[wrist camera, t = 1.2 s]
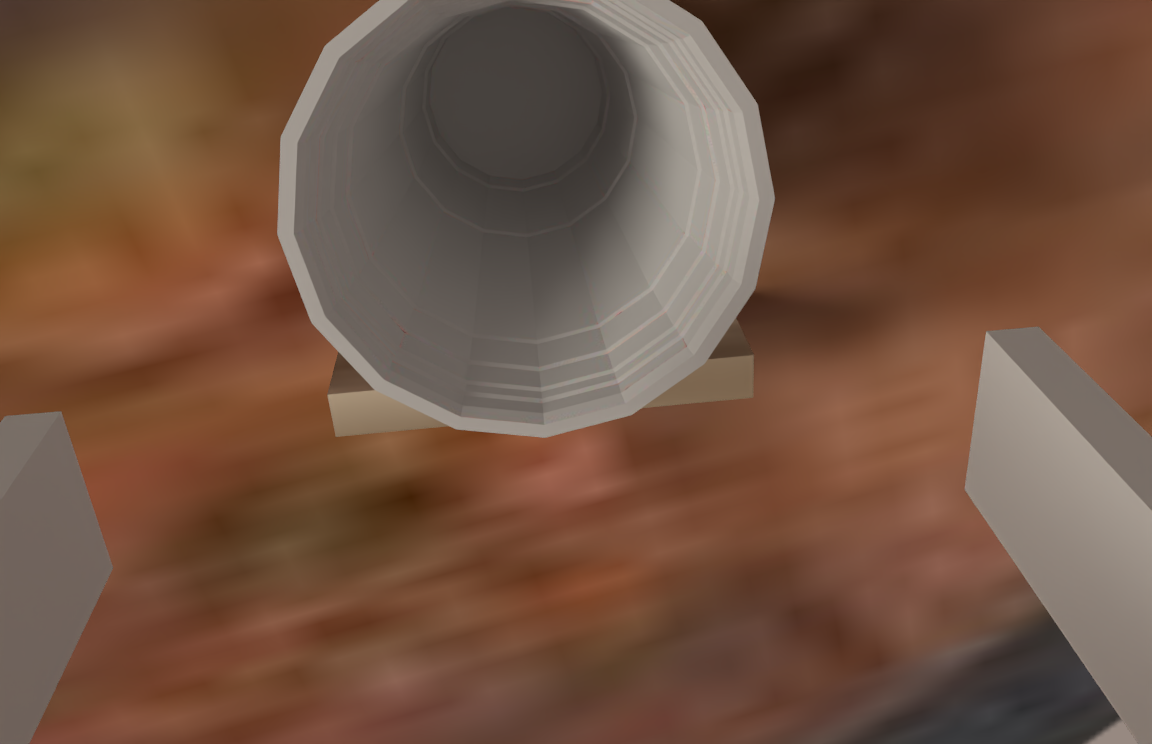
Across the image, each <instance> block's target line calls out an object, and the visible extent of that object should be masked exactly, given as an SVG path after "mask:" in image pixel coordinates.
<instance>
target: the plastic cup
mask: <svg viewBox="0 0 1152 744" xmlns="http://www.w3.org/2000/svg"><path fill="white" fill-rule="evenodd" d="M774 201H775V196H774V190H773V185H772V179H771V174H770V169H769V163H768V158H767V152H766V147H765V141H764V136H763V130H762V125H761V120H760V114H759V109H758V104H757V102H756V101H755V99H754V98H753V96H752V95H751V93H750V92H749V90H748V89H747V87H746V86H745V84H744V83H743V81H742V80H741V78H740V77H739V76H738V74H737V73H736V71H735V70H734V68H733V67H732V65H731V64H730V62H729V61H728V59H727V58H726V56H725V55H724V53H723V52H722V50H721V49H720V47H719V46H718V44H717V43H716V41H715V40H714V38H713V37H712V35H711V34H710V32H709V31H708V29H707V28H706V26H705V25H704V23H703V22H702V21H701V20H700V19H698V18H697V17H695V16H693V15H692V14H690V13H689V12H687V11H685V10H684V9H682V8H681V7H679V6H678V5H676V4H674V3H673V2H671V1H670V0H379V1H378V2H377V3H376V4H374V5H373V6H372V7H371V8H370V9H368V10H367V11H366V12H365V13H364V14H362V15H361V16H360V17H359V18H358V19H356V20H355V21H354V22H353V23H352V24H350V25H349V26H348V27H347V28H346V29H344V30H343V31H342V32H341V33H340V34H338V35H337V36H336V37H335V38H334V39H332V40H331V41H330V42H329V43H328V44H326V45H325V47H324V49H323V51H322V53H321V55H320V57H319V59H318V61H317V63H316V65H315V67H314V69H313V71H312V74H311V76H310V78H309V80H308V82H307V84H306V86H305V88H304V90H303V92H302V94H301V96H300V98H299V100H298V102H297V104H296V107H295V109H294V111H293V113H292V115H291V117H290V119H289V121H288V123H287V125H286V127H285V129H284V131H283V133H282V135H281V143H280V173H279V202H278V231H277V235H278V238H279V240H280V243H281V245H282V248H283V251H284V253H285V256H286V258H287V261H288V263H289V266H290V269H291V271H292V274H293V276H294V279H295V282H296V284H297V287H298V289H299V292H300V294H301V297H302V300H303V302H304V305H305V307H306V310H307V313H308V315H309V318H310V320H311V323H312V324H313V325H314V326H315V327H316V328H317V329H318V330H319V331H320V332H321V333H322V335H323V336H324V337H325V338H326V339H327V340H328V341H329V342H330V343H331V344H332V345H333V346H334V347H335V348H336V349H337V351H338V352H339V353H340V354H341V355H342V356H343V357H344V358H345V359H346V360H347V361H348V362H349V363H350V364H351V365H352V366H353V368H354V369H355V370H356V371H357V372H358V373H359V374H360V375H361V376H362V377H363V378H364V379H365V380H366V381H367V382H368V383H369V385H370V386H371V387H372V388H373V389H374V390H376V391H378V392H380V393H382V394H384V395H386V396H388V397H390V398H392V399H394V400H396V401H398V402H401V403H403V404H405V405H407V406H409V407H411V408H413V409H415V410H417V411H419V412H421V413H423V414H425V415H428V416H430V417H432V418H434V419H436V420H438V421H440V422H442V423H444V424H446V425H448V426H450V427H452V428H455V429H459V430H469V431H480V432H490V433H501V434H512V435H522V436H533V437H543V438H546V437H550V436H553V435H557V434H561V433H565V432H569V431H573V430H576V429H580V428H584V427H588V426H592V425H596V424H599V423H603V422H607V421H611V420H615V419H618V418H622V417H626V416H630V415H632V414H634V413H635V412H636V411H638V410H639V409H641V408H642V407H644V406H645V405H647V404H648V403H649V402H651V401H652V400H654V399H655V398H657V397H658V396H659V395H661V394H662V393H664V392H665V391H667V390H668V389H669V388H671V387H672V386H674V385H675V384H677V383H678V382H679V381H681V380H682V379H684V378H685V377H687V376H688V375H689V374H691V373H692V372H694V371H695V370H697V369H698V368H699V367H701V366H702V365H704V364H705V362H706V361H707V360H708V358H709V357H710V355H711V354H712V352H713V351H714V349H715V348H716V346H717V345H718V343H719V342H720V340H721V339H722V337H723V336H724V334H725V333H726V331H727V330H728V329H729V327H730V326H731V324H732V323H733V321H734V320H735V318H736V317H737V315H738V314H739V312H740V311H741V309H742V308H743V306H744V305H745V303H746V302H747V300H748V299H749V298H750V296H751V295H752V293H753V292H754V290H755V288H756V283H757V279H758V274H759V270H760V265H761V260H762V256H763V251H764V247H765V242H766V238H767V233H768V228H769V224H770V219H771V215H772V210H773V205H774Z"/></svg>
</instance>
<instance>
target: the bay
mask: <svg viewBox="0 0 1152 744" xmlns="http://www.w3.org/2000/svg"><path fill="white" fill-rule="evenodd" d="M753 378H754V354H753V352H752V350H751V348H750V346H749V344H748V342H747V340H746V337H745V335H744V333H743V331H742V329H741V327H740V325H739V323H738V321H737V318H735V320H734V321H733V323H732V324H731V326H730V327H729V329H728V330H727V331H726V333H725V334H724V336H723V337H722V339H721V340H720V342H719V343H718V345H717V346H716V348H715V349H714V351H713V352H712V354H711V355H710V357H709V358H708V360H707V361H706V362H705V364H704V365H702V366H701V367H699V368H698V369H697V370H695V371H694V372H692V373H691V374H689V375H688V376H687V377H685V378H684V379H682V380H681V381H679V382H678V383H677V384H675V385H674V386H672V387H671V388H669V389H668V390H667V391H665V392H664V393H662V394H661V395H659V396H658V397H657V398H655V399H654V400H652V401H651V402H649V403H648V404H647V405H645V406H644V407H642V408H647V407H658V406H668V405H679V404H690V403H700V402H711V401H722V400H732V399H743V398H753ZM327 395H328V400H329V405H330V410H331V415H332V420H333V425H334V430H335V435H336V437H338V436H349V435H360V434H370V433H381V432H392V431H402V430H413V429H424V428H434V427H445V426H448V425H446V424H444V423H442V422H440V421H438V420H436V419H434V418H432V417H430V416H428V415H425V414H423V413H421V412H419V411H417V410H415V409H413V408H411V407H409V406H407V405H405V404H403V403H401V402H398V401H396V400H394V399H392V398H390V397H388V396H386V395H384V394H382V393H380V392H378V391H376V390H374V389H373V388H372V387H371V386H370V385H369V383H368V382H367V381H366V380H365V379H364V378H363V377H362V376H361V375H360V374H359V373H358V372H357V371H356V370H355V369H354V368H353V366H352V365H351V364H350V363H349V362H348V361H347V360H346V359H345V358H344V357H343V356H342V355H341V354H340V353H339V352H338V355H337V359H336V363H335V367H334V371H333V375H332V379H331V383H330V386H329V390H328V394H327Z"/></svg>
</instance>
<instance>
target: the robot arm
mask: <svg viewBox="0 0 1152 744" xmlns="http://www.w3.org/2000/svg"><path fill="white" fill-rule="evenodd" d="M965 491H966V492H967V494H968V495H969V497H970V498H971V500H972V501H973V502H974V504H975V505H976V507H977V508H978V510H979V511H980V513H981V514H982V516H983V517H984V519H985V520H986V522H987V523H988V524H989V526H990V527H991V529H992V530H993V532H994V533H995V535H996V536H997V538H998V539H999V541H1000V542H1001V543H1002V545H1003V546H1004V548H1005V549H1006V551H1007V552H1008V554H1009V555H1010V557H1011V558H1012V560H1013V561H1014V563H1015V564H1016V565H1017V567H1018V568H1019V570H1020V571H1021V573H1022V574H1023V576H1024V577H1025V579H1026V580H1027V582H1028V583H1029V584H1030V586H1031V587H1032V589H1033V590H1034V592H1035V593H1036V595H1037V596H1038V598H1039V599H1040V601H1041V602H1042V604H1043V605H1044V606H1045V608H1046V609H1047V611H1048V612H1049V614H1050V615H1051V617H1052V618H1053V620H1054V621H1055V623H1056V624H1057V626H1058V627H1059V628H1060V630H1061V631H1062V633H1063V634H1064V636H1065V637H1066V639H1067V640H1068V642H1069V643H1070V645H1071V646H1072V647H1073V649H1074V650H1075V652H1076V653H1077V655H1078V656H1079V658H1080V659H1081V661H1082V662H1083V664H1084V665H1085V667H1086V668H1087V669H1088V671H1089V672H1090V674H1091V675H1092V677H1093V678H1094V680H1095V681H1096V683H1097V684H1098V686H1099V687H1100V688H1101V690H1102V691H1103V693H1104V694H1105V696H1106V697H1107V699H1108V700H1109V702H1110V703H1111V705H1112V706H1113V708H1114V709H1115V710H1116V712H1117V713H1118V715H1119V716H1120V718H1121V719H1122V721H1123V722H1124V724H1125V725H1126V727H1127V728H1128V729H1129V731H1130V732H1131V734H1132V735H1133V737H1134V738H1135V740H1136V741H1137V743H1138V744H1152V437H1151V436H1150V435H1149V434H1148V433H1147V432H1146V431H1145V430H1144V429H1143V428H1142V427H1141V426H1140V425H1139V424H1138V423H1137V422H1136V421H1135V420H1134V419H1133V418H1132V417H1131V416H1130V415H1129V414H1127V413H1126V412H1125V411H1124V410H1123V409H1122V408H1121V407H1120V406H1119V405H1118V404H1117V403H1116V402H1115V401H1114V400H1113V399H1112V398H1111V397H1110V396H1109V395H1108V394H1107V393H1106V392H1105V391H1104V390H1103V389H1102V388H1101V387H1100V386H1099V385H1098V384H1097V383H1096V382H1095V381H1094V380H1093V379H1092V378H1091V377H1090V376H1088V375H1087V374H1086V373H1085V372H1084V371H1083V370H1082V369H1081V368H1080V367H1079V366H1078V365H1077V364H1076V363H1075V362H1074V361H1073V360H1072V359H1071V358H1070V357H1069V356H1068V355H1067V354H1066V353H1065V352H1064V351H1063V350H1062V349H1061V348H1060V347H1059V346H1058V345H1057V344H1056V343H1055V342H1054V341H1053V340H1052V339H1051V338H1050V337H1048V336H1047V335H1046V334H1045V333H1044V332H1043V331H1042V330H1041V329H1040V328H1039V327H1030V328H1019V329H1007V330H995V331H986V337H985V344H984V352H983V359H982V366H981V374H980V381H979V388H978V396H977V403H976V410H975V418H974V425H973V432H972V440H971V447H970V454H969V462H968V469H967V476H966V484H965ZM112 569H113V566H112V563H111V560H110V557H109V554H108V551H107V548H106V545H105V542H104V539H103V536H102V533H101V530H100V527H99V524H98V521H97V518H96V515H95V512H94V509H93V506H92V503H91V500H90V497H89V494H88V491H87V488H86V485H85V482H84V479H83V476H82V473H81V470H80V467H79V464H78V461H77V458H76V455H75V452H74V449H73V446H72V443H71V440H70V437H69V434H68V431H67V428H66V425H65V422H64V419H63V416H62V413H61V411H60V412H49V413H37V414H26V415H14V416H5V417H4V419H3V420H2V421H1V423H0V744H29V743H30V741H31V739H32V737H33V735H34V732H35V730H36V728H37V726H38V724H39V722H40V720H41V718H42V716H43V714H44V711H45V709H46V707H47V705H48V703H49V701H50V699H51V697H52V695H53V693H54V691H55V688H56V686H57V684H58V682H59V680H60V678H61V676H62V674H63V672H64V670H65V667H66V665H67V663H68V661H69V659H70V657H71V655H72V653H73V651H74V649H75V647H76V644H77V642H78V640H79V638H80V636H81V634H82V632H83V630H84V628H85V626H86V623H87V621H88V619H89V617H90V615H91V613H92V611H93V609H94V607H95V605H96V603H97V600H98V598H99V596H100V594H101V592H102V590H103V588H104V586H105V584H106V582H107V579H108V577H109V575H110V573H111V571H112Z"/></svg>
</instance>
